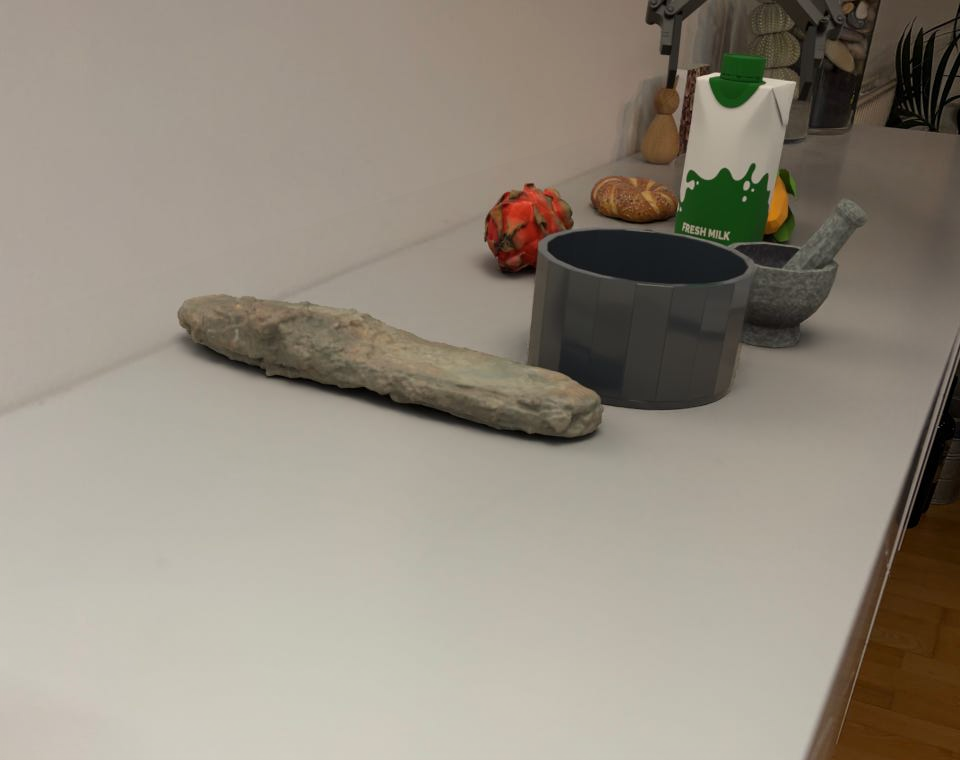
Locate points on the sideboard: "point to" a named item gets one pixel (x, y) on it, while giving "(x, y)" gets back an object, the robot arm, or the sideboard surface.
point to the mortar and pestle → (795, 278)
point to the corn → (781, 207)
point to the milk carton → (733, 152)
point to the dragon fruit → (524, 225)
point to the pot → (641, 314)
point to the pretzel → (633, 199)
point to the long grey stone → (390, 363)
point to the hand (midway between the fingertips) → (738, 85)
